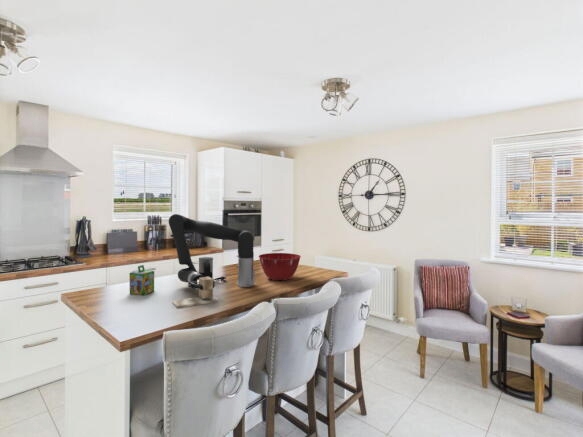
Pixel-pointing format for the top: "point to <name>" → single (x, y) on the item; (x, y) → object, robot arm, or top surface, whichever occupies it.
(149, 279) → the green patterned box
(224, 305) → the top surface
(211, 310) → the top surface
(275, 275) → the mixing bowl
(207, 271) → the milk frother
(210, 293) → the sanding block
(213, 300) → the board
